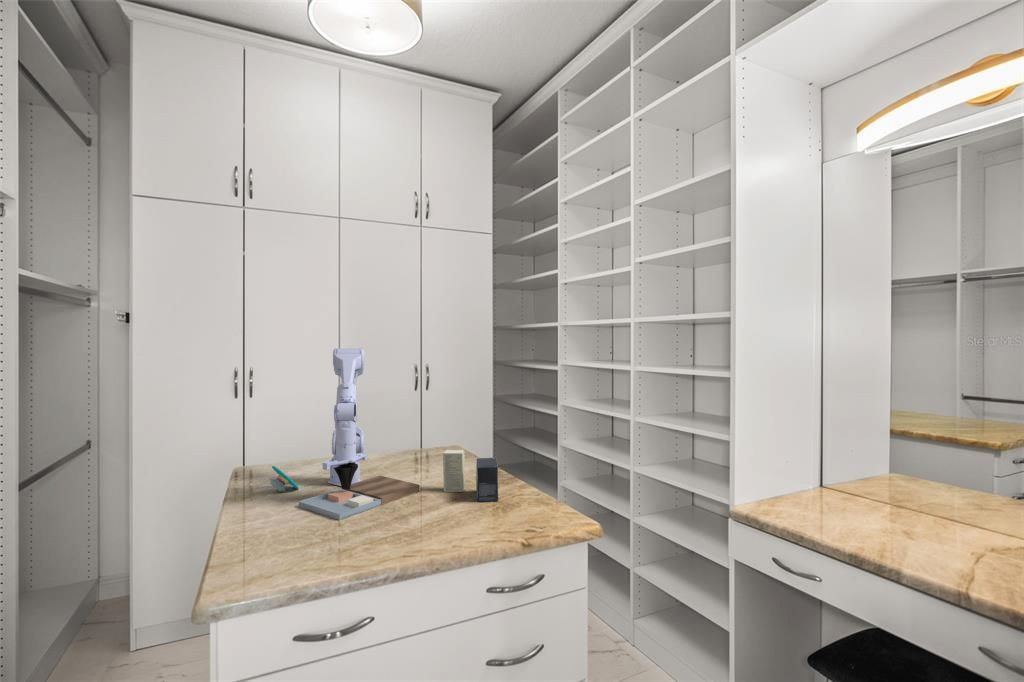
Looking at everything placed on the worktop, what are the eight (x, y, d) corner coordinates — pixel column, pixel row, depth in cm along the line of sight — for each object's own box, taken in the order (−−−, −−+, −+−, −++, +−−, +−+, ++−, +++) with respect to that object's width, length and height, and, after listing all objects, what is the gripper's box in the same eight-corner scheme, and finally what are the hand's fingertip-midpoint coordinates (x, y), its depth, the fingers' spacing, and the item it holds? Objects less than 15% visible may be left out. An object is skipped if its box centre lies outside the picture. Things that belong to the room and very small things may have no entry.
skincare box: (465, 488, 159) (465, 449, 159) (463, 492, 154) (463, 453, 154) (445, 487, 159) (445, 449, 159) (442, 492, 155) (442, 452, 155)
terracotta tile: (327, 499, 146) (327, 494, 146) (342, 494, 151) (342, 489, 151) (338, 502, 144) (338, 497, 144) (353, 497, 148) (353, 492, 148)
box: (298, 506, 141) (298, 501, 141) (340, 493, 153) (340, 488, 153) (339, 520, 131) (339, 514, 131) (381, 505, 143) (381, 499, 143)
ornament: (262, 476, 158) (261, 475, 149) (273, 465, 160) (273, 463, 151) (288, 499, 159) (289, 499, 150) (299, 487, 161) (300, 487, 152)
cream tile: (347, 505, 142) (347, 499, 142) (361, 500, 146) (361, 495, 146) (359, 508, 139) (358, 503, 139) (373, 503, 143) (373, 498, 143)
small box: (475, 491, 156) (476, 457, 156) (496, 490, 157) (497, 457, 156) (476, 502, 145) (476, 466, 145) (498, 502, 146) (498, 466, 146)
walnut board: (341, 493, 153) (341, 486, 153) (379, 481, 166) (379, 475, 165) (382, 504, 143) (382, 497, 143) (419, 491, 155) (419, 484, 155)
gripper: (333, 449, 141) (333, 497, 141) (374, 440, 153) (374, 485, 153) (318, 446, 144) (318, 493, 145) (358, 437, 156) (358, 481, 157)
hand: (345, 488), depth 149 cm, fingers closed
